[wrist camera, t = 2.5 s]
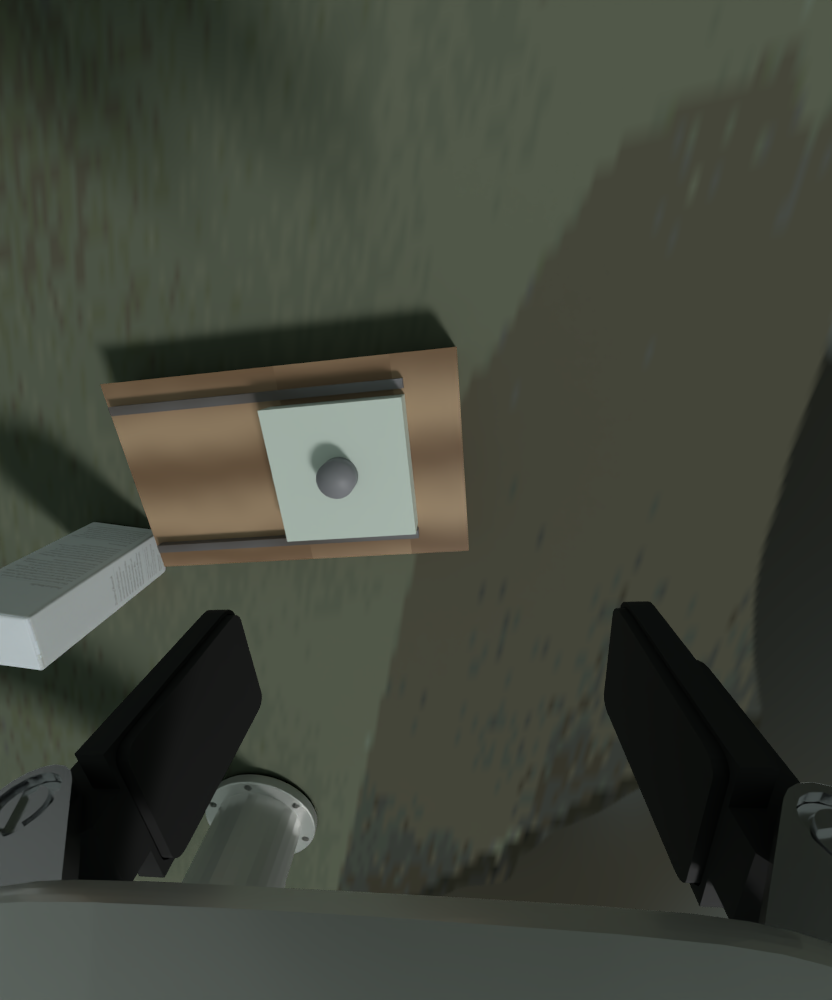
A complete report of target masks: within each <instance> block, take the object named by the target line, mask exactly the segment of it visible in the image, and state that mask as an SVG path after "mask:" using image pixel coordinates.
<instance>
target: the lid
mask: <svg viewBox="0 0 832 1000" xmlns="http://www.w3.org/2000/svg"><path fill="white" fill-rule="evenodd" d="M258 416H259V420H260V424H261V429H262V433H263V438H264V442H265V446H266V451H267V455H268V459H269V464H270V468H271V472H272V477H273V481H274V485H275V490H276V494H277V499H278V503H279V507H280V512H281V516H282V520H283V525H284V529H285V533H286V538H287V542H291V541H308V540H326V539H343V538H360V537H378V536H395V535H412V534H416V531H417V525H418V517H417V508H416V498H415V489H414V479H413V470H412V460H411V451H410V442H409V432H408V423H407V413H406V404H405V394H399V395H388V396H377V397H367V398H356V399H346V400H335V401H325V402H314V403H304V404H293V405H282V406H272V407H268V408H265V409H262V410H259V411H258Z"/></svg>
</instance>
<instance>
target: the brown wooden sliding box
mask: <svg viewBox="0 0 832 1000" xmlns="http://www.w3.org/2000/svg"><path fill="white" fill-rule="evenodd" d="M100 385H101V388H102V391H103V394H104V396H105V399H106V402H107V405H108V409H109V412H110V415H111V416H112V419H113V422H114V425H115V428H116V430H117V433H118V436H119V439H120V442H121V445H122V447H123V450H124V453H125V456H126V459H127V462H128V464H129V467H130V470H131V473H132V476H133V479H134V482H135V484H136V487H137V490H138V493H139V496H140V499H141V501H142V504H143V507H144V510H145V513H146V516H147V518H148V521H149V524H150V527H151V530H152V533H153V535H154V538H155V541H156V544H157V548H158V551H159V553H160V555H161V558H162V561H163V564H164V567H167V566H185V565H204V564H223V563H242V562H261V561H280V560H299V559H318V558H337V557H356V556H375V555H394V554H413V553H432V552H451V551H469V544H468V527H467V511H466V494H465V477H464V461H463V444H462V427H461V411H460V394H459V378H458V361H457V347H449V348H440V349H430V350H421V351H412V352H402V353H393V354H383V355H374V356H364V357H355V358H345V359H336V360H326V361H317V362H307V363H298V364H288V365H279V366H269V367H260V368H251V369H241V370H232V371H222V372H213V373H203V374H194V375H184V376H175V377H165V378H156V379H146V380H137V381H127V382H118V383H108V384H100ZM399 394H405V404H406V413H407V423H408V432H409V442H410V451H411V460H412V470H413V479H414V489H415V498H416V508H417V517H418V525H417V531H416V534H412V535H395V536H378V537H360V538H343V539H326V540H308V541H291V542H287V538H286V533H285V529H284V525H283V520H282V516H281V512H280V507H279V503H278V499H277V494H276V490H275V485H274V481H273V477H272V472H271V468H270V464H269V459H268V455H267V451H266V446H265V442H264V438H263V433H262V429H261V424H260V420H259V416H258V411H259V410H262V409H265V408H268V407H272V406H282V405H293V404H304V403H314V402H325V401H335V400H346V399H356V398H367V397H377V396H388V395H399Z"/></svg>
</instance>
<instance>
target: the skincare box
mask: <svg viewBox="0 0 832 1000" xmlns="http://www.w3.org/2000/svg"><path fill="white" fill-rule="evenodd" d="M165 569H166V568H165V567H164V564H163V561H162V558H161V555H160V553H159V551H158V548H157V544H156V541H155V538H154V535H153V533H152V530H151V529H144V528H136V527H129V526H121V525H113V524H106V523H99V522H92V523H90V524H88V525H86V526H84V527H82V528H80V529H78V530H76V531H74V532H72V533H70V534H68V535H66V536H64V537H62V538H60V539H58V540H56V541H54V542H53V543H51V544H49V545H47V546H45V547H43V548H41V549H39V550H37V551H35V552H33V553H31V554H29V555H27V556H25V557H23V558H21V559H19V560H17V561H15V562H13V563H11V564H9V565H7V566H5V567H3V568H1V569H0V665H5V666H13V667H21V668H28V669H35V670H43V669H45V668H46V667H47V666H48V665H50V664H51V663H52V662H53V661H55V660H56V659H57V658H58V657H60V656H61V655H62V654H63V653H65V652H66V651H67V650H68V649H70V648H71V647H72V646H73V645H74V644H76V643H77V642H78V641H79V640H81V639H82V638H83V637H84V636H86V635H87V634H88V633H89V632H91V631H92V630H93V629H94V628H96V627H97V626H98V625H99V624H100V623H102V622H103V621H104V620H105V619H107V618H108V617H109V616H110V615H112V614H113V613H114V612H115V611H117V610H118V609H119V608H120V607H122V606H123V605H124V604H125V603H127V602H128V601H129V600H130V599H132V598H133V597H134V596H135V595H136V594H138V593H139V592H140V591H141V590H143V589H144V588H145V587H146V586H148V585H149V584H150V583H151V582H153V581H154V580H155V579H156V578H157V577H159V576H160V575H161V574H162V573H164V572H165Z"/></svg>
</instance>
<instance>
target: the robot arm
mask: <svg viewBox="0 0 832 1000" xmlns="http://www.w3.org/2000/svg"><path fill="white" fill-rule="evenodd" d="M261 700H262V694H261V690H260V686H259V683H258V679H257V676H256V672H255V669H254V665H253V662H252V658H251V654H250V651H249V647H248V644H247V640H246V637H245V633H244V630H243V626H242V622H241V619H240V617H239V616H237V615H235V614H234V612H233V611H232V610H208V611H206V612H205V613H204V614H203V615H202V616H201V617H200V618H199V619H198V620H197V621H196V622H195V623H194V625H193V626H192V627H191V628H190V629H189V630H188V631H187V632H186V633H185V634H184V635H183V637H182V638H181V639H180V640H179V641H178V642H177V643H176V644H175V645H174V646H173V647H172V649H171V650H170V651H169V652H168V653H167V654H166V655H165V656H164V657H163V658H162V659H161V660H160V662H159V663H158V664H157V665H156V666H155V667H154V668H153V669H152V670H151V671H150V672H149V674H148V675H147V676H146V677H145V678H144V679H143V680H142V681H141V682H140V683H139V684H138V686H137V687H136V688H135V689H134V690H133V691H132V692H131V693H130V694H129V695H128V696H127V697H126V699H125V700H124V701H123V702H122V703H121V704H120V705H119V706H118V707H117V708H116V709H115V711H114V712H113V713H112V714H111V715H110V716H109V717H108V718H107V719H106V720H105V721H104V722H103V724H102V725H101V726H100V727H99V728H98V729H97V730H96V731H95V732H94V733H93V734H92V736H91V737H90V738H89V739H88V740H87V741H86V742H85V743H84V744H83V745H82V746H81V748H80V749H79V750H78V751H77V752H76V753H75V756H76V758H77V760H78V762H77V763H76V764H75V765H74V766H73V767H72V768H71V770H70V769H68V768H67V767H66V766H63V765H50V766H45V767H41V768H39V769H36V770H34V771H31V772H28V773H26V774H25V775H23V776H21V777H19V778H17V779H16V780H14V781H12V782H11V783H9V784H8V785H6V786H5V787H4V788H2V789H1V790H0V1000H832V786H828V785H823V784H818V783H813V782H809V783H800V782H799V781H798V779H797V778H796V777H795V776H794V774H793V773H792V772H791V771H790V769H789V768H788V767H787V766H786V764H785V763H784V762H783V760H782V759H781V758H780V757H779V756H778V754H777V753H776V752H775V751H774V749H773V748H772V747H771V745H770V744H769V743H768V742H767V740H766V739H765V738H764V737H763V735H762V734H761V733H760V732H759V730H758V729H757V728H756V727H755V725H754V724H753V723H752V722H751V720H750V719H749V718H748V717H747V715H746V714H745V713H744V712H743V710H742V709H741V708H740V707H739V705H738V704H737V703H736V702H735V700H734V699H733V698H732V697H731V695H730V694H729V693H728V692H727V690H726V689H725V688H724V687H723V685H722V684H721V683H720V682H719V680H718V679H717V678H716V677H715V675H714V674H713V673H712V671H711V670H710V669H709V668H708V667H707V666H706V665H705V664H704V663H702V662H700V661H698V660H696V659H695V658H694V657H693V655H692V654H691V653H690V651H689V650H688V649H687V648H686V646H685V645H684V644H683V642H682V641H681V640H680V639H679V637H678V636H677V635H676V633H675V632H674V631H673V630H672V628H671V627H670V626H669V624H668V623H667V622H666V621H665V619H664V618H663V617H662V615H661V614H660V613H659V612H658V610H657V609H656V608H655V606H654V605H653V604H652V603H651V602H648V601H647V602H623V603H622V604H621V607H620V608H616V609H614V611H613V617H612V626H611V635H610V644H609V654H608V663H607V672H606V681H605V690H604V701H605V706H606V710H607V713H608V715H609V717H610V720H611V722H612V724H613V727H614V729H615V731H616V734H617V736H618V738H619V741H620V743H621V745H622V748H623V750H624V752H625V755H626V757H627V760H628V762H629V764H630V767H631V769H632V771H633V774H634V776H635V778H636V781H637V783H638V785H639V788H640V790H641V792H642V795H643V797H644V799H645V802H646V804H647V806H648V808H649V811H650V813H651V816H652V818H653V821H654V823H655V825H656V828H657V830H658V832H659V835H660V837H661V839H662V842H663V844H664V846H665V849H666V851H667V853H668V856H669V858H670V860H671V863H672V865H673V868H674V870H675V872H676V874H677V876H678V877H679V879H680V880H681V881H682V882H684V883H690V885H691V888H692V890H693V892H694V894H695V897H696V899H697V901H698V903H699V906H703V907H722V908H724V909H725V912H726V914H727V916H728V918H729V919H727V918H719V917H712V916H705V915H698V914H687V913H675V912H663V911H651V910H638V909H627V908H614V907H602V906H589V905H571V904H556V903H538V902H523V901H507V900H506V901H505V900H490V899H474V898H457V897H441V896H423V895H405V894H387V893H369V892H351V891H332V890H314V889H295V888H284V887H285V884H286V879H287V876H288V872H289V869H290V866H291V862H292V859H293V856H294V854H295V853H297V852H300V851H301V850H303V849H304V848H306V847H307V846H308V845H309V844H310V843H311V841H312V839H313V837H314V834H315V831H316V827H317V815H316V812H315V809H314V807H313V806H312V804H311V802H310V801H309V800H308V799H307V798H306V796H305V795H304V794H302V793H301V792H300V791H299V790H298V789H296V788H294V787H293V786H291V785H290V784H288V783H285V782H283V781H281V780H279V779H275V778H272V777H269V776H263V775H255V774H245V775H237V776H234V777H230V778H227V779H225V780H224V781H222V779H223V777H224V775H225V773H226V771H227V769H228V767H229V765H230V764H231V762H232V760H233V758H234V756H235V754H236V752H237V750H238V748H239V746H240V745H241V743H242V741H243V739H244V737H245V735H246V733H247V731H248V729H249V727H250V726H251V724H252V722H253V720H254V718H255V716H256V714H257V712H258V710H259V708H260V705H261ZM221 781H222V782H221ZM205 812H206V818H207V820H208V823H209V825H210V827H209V829H208V831H207V833H206V835H205V837H204V839H203V841H202V843H201V845H200V847H199V849H198V851H197V853H196V855H195V857H194V859H193V861H192V863H191V865H190V867H189V869H188V871H187V873H186V875H185V877H184V879H183V881H182V883H173V882H150V881H133V880H134V878H135V876H136V875H137V873H138V874H139V876H145V877H165V875H166V874H167V872H168V870H169V868H170V866H171V864H172V862H173V861H174V859H175V858H178V857H179V856H181V854H182V853H183V852H184V850H185V849H186V847H187V845H188V843H189V842H190V840H191V838H192V836H193V834H194V832H195V830H196V828H197V826H198V824H199V823H200V821H201V819H202V817H203V815H204V813H205Z"/></svg>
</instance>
